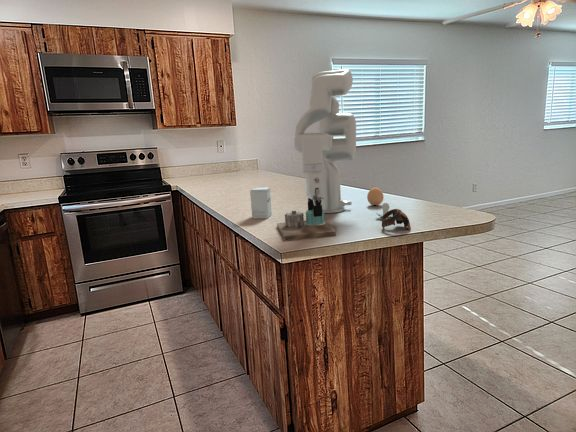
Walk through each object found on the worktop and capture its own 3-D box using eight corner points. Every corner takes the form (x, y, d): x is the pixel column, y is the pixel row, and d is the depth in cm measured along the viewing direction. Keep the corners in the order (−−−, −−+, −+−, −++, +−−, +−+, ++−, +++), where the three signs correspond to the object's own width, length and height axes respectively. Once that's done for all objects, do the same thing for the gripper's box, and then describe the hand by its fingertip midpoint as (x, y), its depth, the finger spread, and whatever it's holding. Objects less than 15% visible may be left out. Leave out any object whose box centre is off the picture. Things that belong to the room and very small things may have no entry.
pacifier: (396, 220, 154) (393, 216, 160) (396, 205, 152) (394, 201, 158) (377, 221, 154) (375, 217, 160) (377, 205, 153) (375, 202, 159)
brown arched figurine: (412, 234, 135) (400, 214, 133) (387, 243, 140) (375, 225, 138) (414, 217, 145) (403, 199, 143) (391, 227, 150) (380, 209, 148)
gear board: (322, 222, 156) (321, 205, 155) (335, 235, 137) (335, 215, 135) (277, 226, 154) (276, 209, 152) (284, 240, 135) (283, 220, 133)
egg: (386, 204, 183) (386, 186, 181) (378, 207, 178) (378, 189, 176) (372, 203, 188) (372, 185, 186) (364, 206, 182) (364, 188, 181)
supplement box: (268, 218, 169) (266, 189, 167) (251, 218, 171) (249, 189, 168) (272, 214, 176) (270, 186, 174) (256, 214, 178) (254, 187, 175)
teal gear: (322, 220, 153) (321, 208, 152) (326, 224, 147) (326, 212, 146) (304, 221, 153) (304, 210, 152) (308, 225, 146) (307, 213, 145)
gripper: (328, 169, 137) (330, 217, 141) (317, 165, 154) (319, 208, 158) (307, 171, 136) (310, 219, 140) (298, 167, 153) (301, 210, 157)
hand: (315, 213), depth 149 cm, fingers open, 9 cm apart
